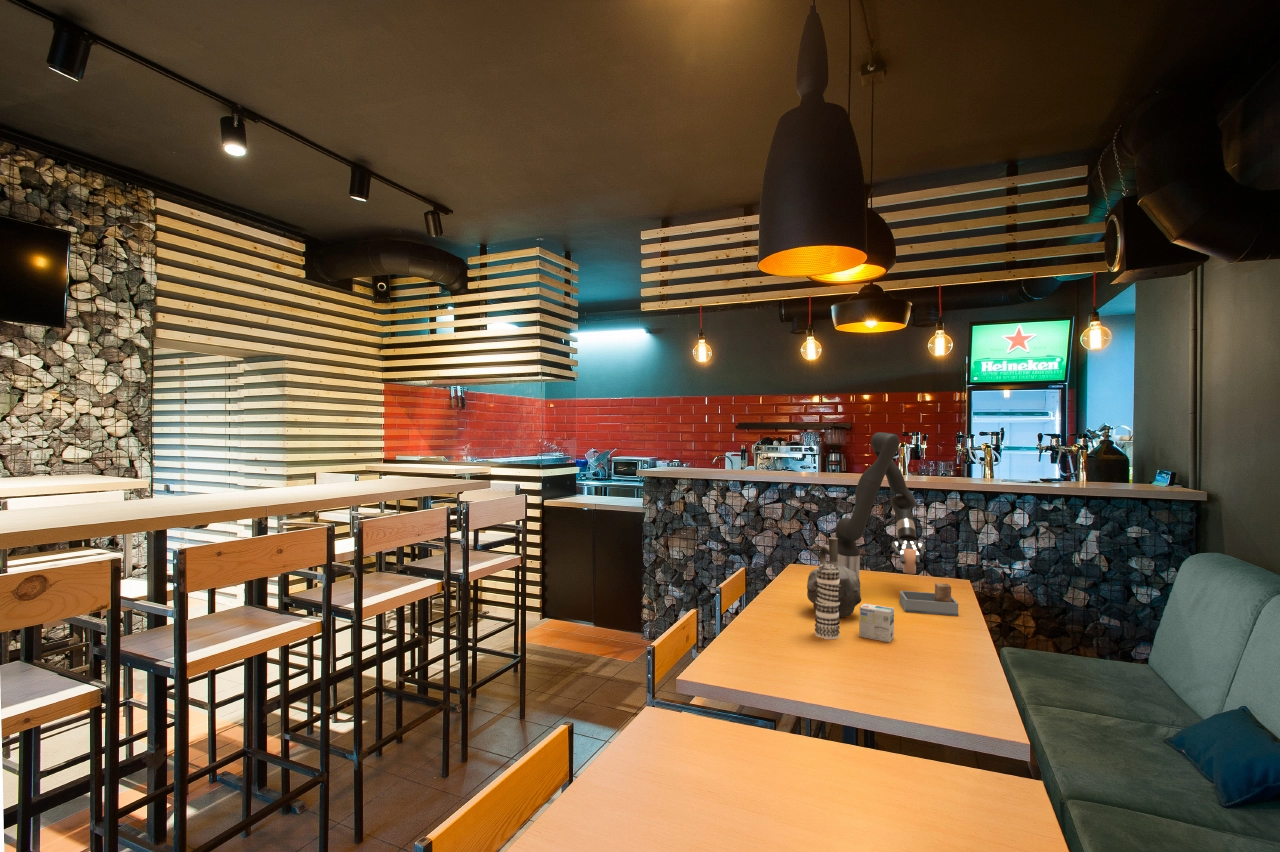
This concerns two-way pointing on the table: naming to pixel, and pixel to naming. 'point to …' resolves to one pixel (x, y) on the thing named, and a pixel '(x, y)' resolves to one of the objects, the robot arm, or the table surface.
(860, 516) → the robot arm
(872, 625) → the light bulb box
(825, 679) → the table surface
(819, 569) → the black white tall cylinder
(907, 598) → the tote
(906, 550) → the terracotta cylinder
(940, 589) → the walnut block
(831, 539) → the vessel
